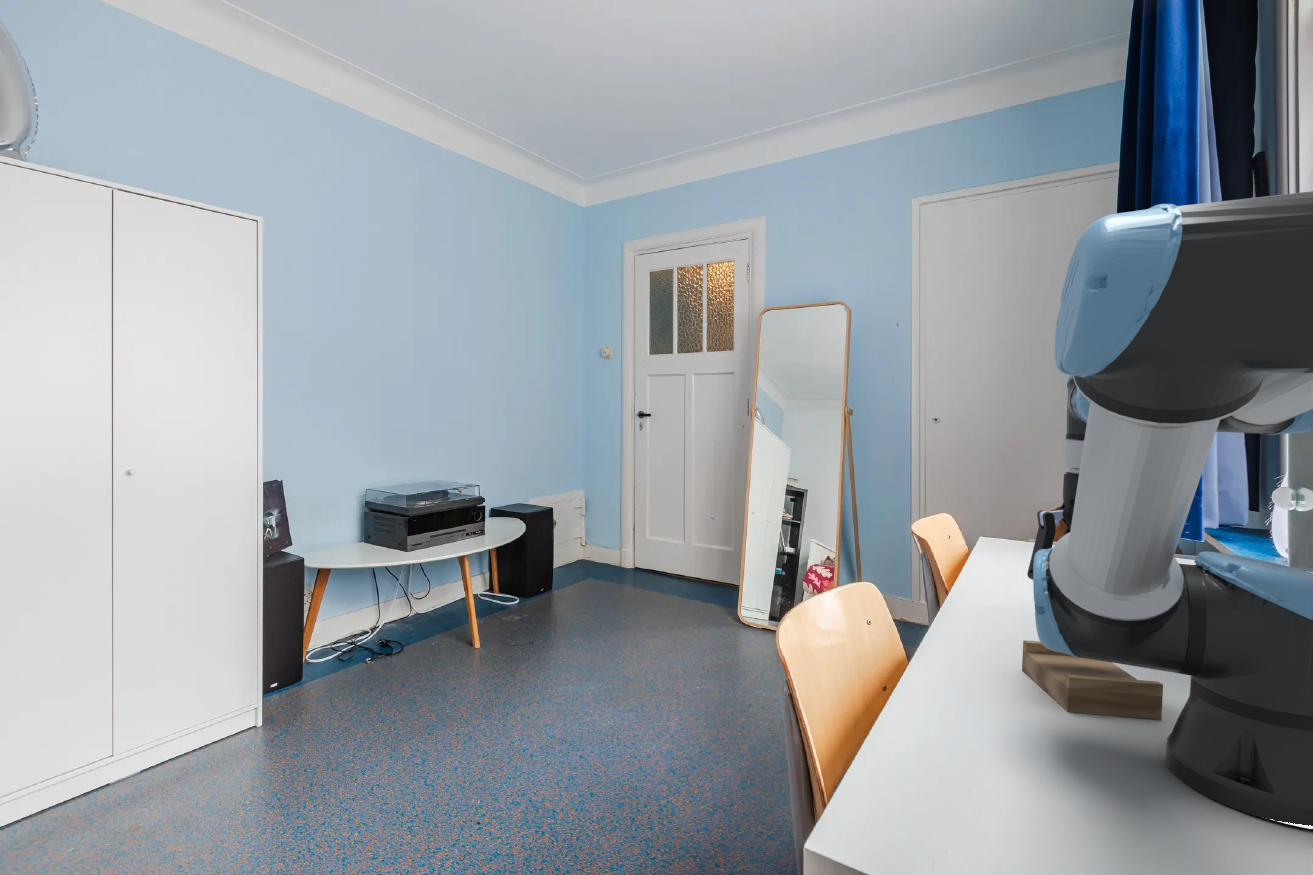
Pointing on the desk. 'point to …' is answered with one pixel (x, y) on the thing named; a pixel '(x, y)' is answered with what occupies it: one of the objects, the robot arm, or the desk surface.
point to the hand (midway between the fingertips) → (1088, 635)
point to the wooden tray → (1091, 684)
